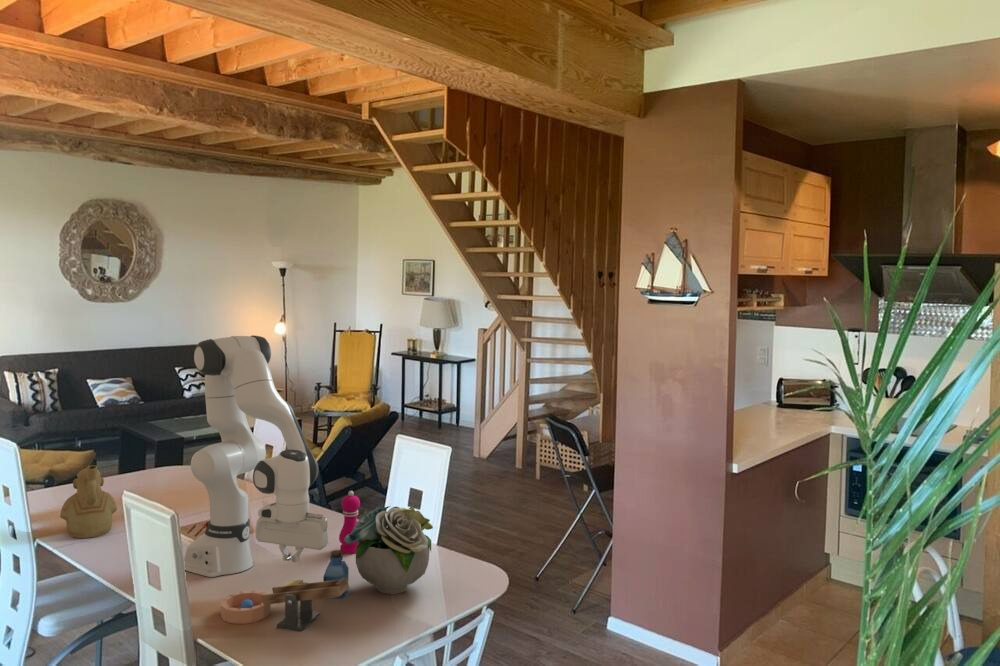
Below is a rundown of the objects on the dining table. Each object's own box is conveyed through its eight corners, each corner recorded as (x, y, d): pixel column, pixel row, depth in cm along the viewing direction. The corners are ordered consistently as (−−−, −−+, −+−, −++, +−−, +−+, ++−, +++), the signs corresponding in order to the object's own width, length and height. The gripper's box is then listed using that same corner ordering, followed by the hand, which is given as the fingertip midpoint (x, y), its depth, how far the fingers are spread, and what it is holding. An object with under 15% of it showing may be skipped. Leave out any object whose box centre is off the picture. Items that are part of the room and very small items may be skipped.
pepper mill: (356, 555, 241) (357, 494, 239) (335, 553, 242) (336, 493, 241) (364, 548, 248) (365, 489, 246) (344, 545, 249) (345, 487, 248)
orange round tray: (210, 620, 192) (211, 606, 192) (239, 600, 204) (239, 588, 204) (253, 626, 189) (253, 613, 189) (279, 606, 201) (279, 594, 201)
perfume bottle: (326, 588, 214) (327, 548, 213) (348, 588, 215) (348, 548, 214) (323, 598, 208) (323, 556, 207) (345, 597, 208) (346, 556, 208)
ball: (235, 607, 196) (243, 599, 195) (242, 602, 199) (250, 594, 198) (243, 616, 195) (251, 609, 195) (250, 611, 198) (257, 604, 198)
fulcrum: (276, 627, 189) (276, 595, 189) (296, 611, 199) (296, 580, 198) (301, 631, 187) (301, 598, 187) (320, 615, 197) (320, 583, 196)
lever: (263, 604, 192) (261, 593, 192) (290, 584, 205) (288, 574, 205) (339, 596, 187) (337, 584, 187) (362, 576, 200) (360, 565, 200)
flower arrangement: (398, 615, 198) (400, 525, 197) (330, 592, 212) (331, 508, 210) (452, 584, 219) (454, 503, 218) (387, 565, 233) (389, 489, 231)
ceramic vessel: (113, 521, 267) (113, 452, 266) (120, 537, 251) (120, 464, 249) (58, 528, 258) (58, 457, 256) (62, 546, 242) (61, 470, 240)
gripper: (332, 511, 201) (331, 561, 202) (265, 503, 206) (264, 552, 207) (321, 518, 195) (320, 570, 196) (252, 510, 200) (251, 560, 201)
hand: (291, 560), depth 202 cm, fingers closed
